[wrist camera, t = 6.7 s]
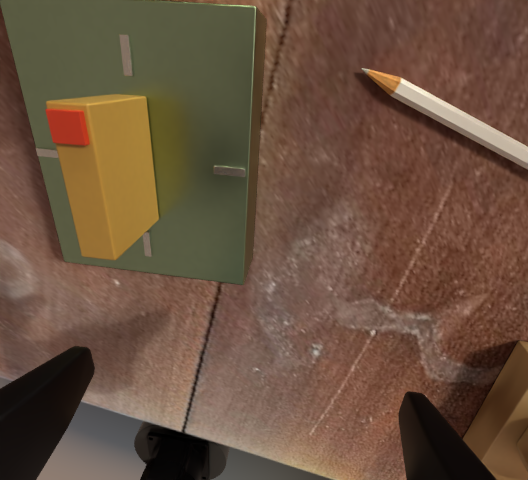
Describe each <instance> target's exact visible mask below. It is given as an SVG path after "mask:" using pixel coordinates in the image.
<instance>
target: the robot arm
mask: <svg viewBox="0 0 528 480" xmlns="http://www.w3.org/2000/svg"><path fill="white" fill-rule="evenodd" d="M94 370H95V367H94V363H93V359H92V355H91V351H90V349H89V348H87V347H79V346H74V347H72V348H70V349H68V350H67V351H65V352H63V353H61V354H60V355H58V356H56V357H54V358H53V359H51V360H49V361H47V362H46V363H44V364H42V365H41V366H39V367H37V368H35V369H34V370H32V371H30V372H28V373H27V374H25V375H23V376H21V377H20V378H18V379H16V380H15V381H13V382H11V383H9V384H8V385H6V386H4V387H2V388H1V389H0V480H36V479H37V477H38V476H39V474H40V472H41V471H42V469H43V467H44V466H45V464H46V463H47V461H48V459H49V458H50V456H51V454H52V453H53V451H54V449H55V448H56V446H57V444H58V443H59V441H60V440H61V438H62V436H63V434H64V433H65V431H66V429H67V428H68V426H69V424H70V422H71V420H72V418H73V416H74V414H75V412H76V410H77V408H78V406H79V404H80V402H81V400H82V398H83V396H84V393H85V391H86V389H87V387H88V385H89V383H90V381H91V379H92V377H93V375H94ZM399 426H400V433H401V441H402V448H403V456H404V463H405V470H406V477H407V480H497V479H496V478H495V477H494V476H493V474H492V473H491V472H490V471H489V470H488V469H487V467H486V466H485V465H484V464H483V463H482V462H481V460H480V459H479V458H478V457H477V456H476V455H475V453H474V452H473V451H472V450H471V449H470V448H469V446H468V445H467V444H466V443H465V442H464V441H463V439H462V438H461V437H460V436H459V435H458V434H457V432H456V431H455V430H454V429H453V428H452V427H451V425H450V424H449V423H448V422H447V421H446V420H445V418H444V417H443V416H442V415H441V414H440V413H439V411H438V410H437V409H436V408H435V407H434V406H433V404H432V403H431V402H430V401H429V400H428V399H427V397H426V396H425V395H423V394H422V393H417V392H410V391H409V392H406V394H405V396H404V398H403V401H402V404H401V407H400V410H399ZM146 440H147V446H148V452H149V460H148V462H147V465H146V467H145V469H144V472H143V474H142V477H141V479H140V480H208V479H209V443H208V442H206V441H202V440H196V439H190V438H185V437H179V436H173V435H167V434H162V433H156V432H149V433H148V434H147V436H146Z"/></svg>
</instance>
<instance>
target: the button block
mask: <svg viewBox="0 0 528 480" xmlns="http://www.w3.org/2000/svg"><path fill="white" fill-rule="evenodd" d="M463 441H464V442H465V443H466V444H467V445H468V446H469V448H470V449H471V450H472V451H473V452H474V453H475V455H476V456H477V457H478V458H479V459H480V460H481V462H482V463H483V464H484V465H485V466H486V467H487V469H488V470H489V471H490V472H491V473H492V474H493V476H494V477H495V478H496V479H497V480H528V342H525V341H518V342H517V344H516V346H515V348H514V349H513V351H512V353H511V355H510V356H509V358H508V360H507V362H506V364H505V365H504V367H503V369H502V371H501V372H500V374H499V376H498V378H497V379H496V381H495V383H494V385H493V386H492V388H491V390H490V392H489V394H488V395H487V397H486V399H485V401H484V402H483V404H482V406H481V408H480V409H479V411H478V413H477V415H476V416H475V418H474V420H473V422H472V424H471V425H470V427H469V429H468V431H467V432H466V434H465V436H464V438H463Z"/></svg>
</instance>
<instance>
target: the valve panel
mask: <svg viewBox="0 0 528 480" xmlns="http://www.w3.org/2000/svg"><path fill="white" fill-rule="evenodd" d="M0 6H1V10H2V14H3V18H4V22H5V26H6V30H7V34H8V38H9V42H10V46H11V50H12V54H13V58H14V62H15V66H16V70H17V74H18V78H19V82H20V86H21V90H22V94H23V98H24V102H25V106H26V110H27V114H28V118H29V122H30V126H31V130H32V134H33V138H34V142H35V146H36V152H37V156H38V158H39V162H40V166H41V170H42V174H43V178H44V182H45V186H46V190H47V194H48V198H49V202H50V206H51V210H52V214H53V218H54V222H55V226H56V230H57V234H58V238H59V242H60V246H61V250H62V254H63V258H64V261H65V262H71V263H79V264H86V265H94V266H101V267H109V268H117V269H124V270H132V271H140V272H147V273H155V274H162V275H170V276H178V277H185V278H193V279H201V280H208V281H216V282H223V283H231V284H239V285H244V283H245V280H246V277H247V274H248V271H249V267H250V264H251V261H252V258H253V247H254V230H255V212H256V195H257V178H258V161H259V144H260V127H261V110H262V93H263V76H264V58H265V41H266V24H267V20H266V18H265V17H264V16H263V14H262V13H261V12H260V11H259V9H258V8H257V7H256V6H245V5H228V4H211V3H193V2H176V1H159V0H0ZM111 94H121V95H137V96H145V97H146V99H147V109H148V119H149V128H150V138H151V147H152V157H153V167H154V176H155V186H156V195H157V205H158V215H159V220H158V221H157V222H156V223H155V224H154V225H153V226H152V227H150V228H149V229H148V230H147V231H146V232H145V233H144V234H143V235H142V236H141V237H140V238H139V239H138V240H137V241H136V242H135V243H134V244H133V245H132V246H130V247H129V248H128V249H127V250H126V251H125V252H124V253H123V254H122V255H121V256H120V257H119V258H118V259H117V260H106V259H98V258H89V257H83V256H82V255H81V251H80V246H79V242H78V238H77V234H76V229H75V225H74V221H73V217H72V212H71V208H70V204H69V200H68V195H67V191H66V187H65V183H64V178H63V174H62V170H61V166H60V161H59V157H58V153H57V149H56V144H55V143H53V140H52V136H51V132H50V128H49V123H48V119H47V115H46V111H45V109H47V106H46V102H47V101H51V100H61V99H71V98H81V97H91V96H101V95H111Z"/></svg>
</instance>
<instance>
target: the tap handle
mask: <svg viewBox="0 0 528 480" xmlns="http://www.w3.org/2000/svg"><path fill="white" fill-rule="evenodd" d="M46 106H47V109H45V111H46V115H47V119H48V123H49V128H50V132H51V136H52V140H53V143H55V144H56V149H57V153H58V157H59V161H60V166H61V170H62V174H63V178H64V183H65V187H66V191H67V195H68V200H69V204H70V208H71V212H72V217H73V221H74V225H75V229H76V234H77V238H78V242H79V246H80V251H81V255H82V256H83V257H89V258H98V259H106V260H117V259H118V258H119V257H120V256H121V255H122V254H123V253H124V252H125V251H126V250H127V249H128V248H129V247H130V246H132V245H133V244H134V243H135V242H136V241H137V240H138V239H139V238H140V237H141V236H142V235H143V234H144V233H145V232H146V231H147V230H148V229H149V228H150V227H152V226H153V225H154V224H155V223H156V222H157V221H158V220H159V215H158V205H157V195H156V186H155V176H154V167H153V157H152V147H151V138H150V128H149V119H148V109H147V99H146V97H145V96H137V95H121V94H111V95H101V96H91V97H81V98H71V99H61V100H51V101H47V102H46Z"/></svg>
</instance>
